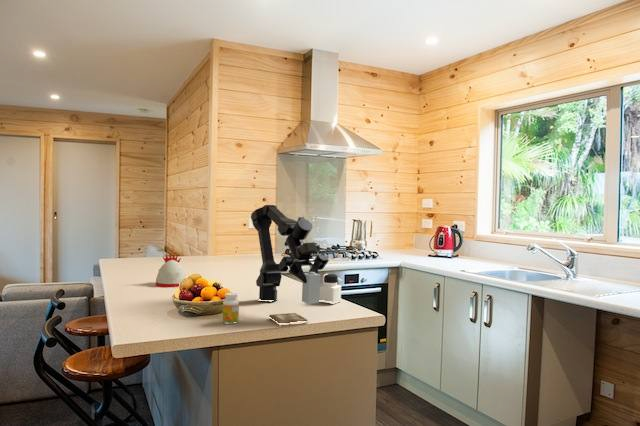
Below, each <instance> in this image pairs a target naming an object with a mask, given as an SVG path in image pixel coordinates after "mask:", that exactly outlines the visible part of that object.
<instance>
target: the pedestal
mask: <svg viewBox="0 0 640 426" xmlns="http://www.w3.org/2000/svg"><path fill="white" fill-rule="evenodd" d="M268 317H271V318H272V319H274V320H275V321H277V322H278V323H290V322H297V321H307V322H308V319H307V318H305V317H303V316H302V315H300V314H298V313H296V312H291V313H290V312H288V313H277V314H275V313H274V314H269V316H268Z"/></svg>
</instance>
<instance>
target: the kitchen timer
mask: <svg viewBox="0 0 640 426" xmlns="http://www.w3.org/2000/svg"><path fill="white" fill-rule="evenodd" d="M162 258H163V261H164V263H162V265H161V267H160V268H159V269H158V273H157V275H156V279H155V286H156V287H160V288H179V287H178V286H179V283H180V282H181V281H182V280H183V279H184V278H186V279H187V277H186V272H185V270H184V268H183V266H182V265H181V264H180V262H181V257H179V259H178V255H176V256H175V253H173V254H172V253H169V256H168V253H165V257H164V256H162Z"/></svg>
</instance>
